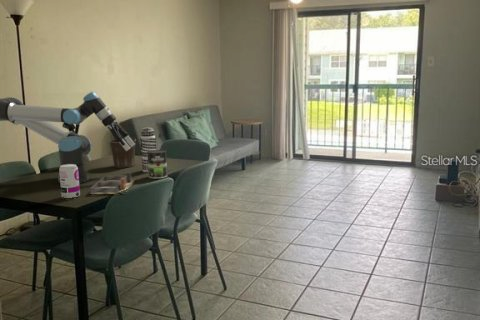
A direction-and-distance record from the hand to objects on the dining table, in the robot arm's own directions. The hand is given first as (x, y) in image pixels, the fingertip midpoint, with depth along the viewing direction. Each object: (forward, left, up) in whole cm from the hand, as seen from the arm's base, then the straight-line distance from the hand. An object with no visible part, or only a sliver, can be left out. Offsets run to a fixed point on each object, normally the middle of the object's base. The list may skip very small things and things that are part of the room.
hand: (131, 147), depth 264 cm
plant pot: (-10, +26, -16) cm, 32 cm away
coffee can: (+15, -7, -16) cm, 23 cm away
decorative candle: (+8, +10, -16) cm, 20 cm away
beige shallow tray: (-4, -30, -15) cm, 34 cm away
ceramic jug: (-41, +29, -16) cm, 52 cm away
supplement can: (-20, -46, -16) cm, 53 cm away
